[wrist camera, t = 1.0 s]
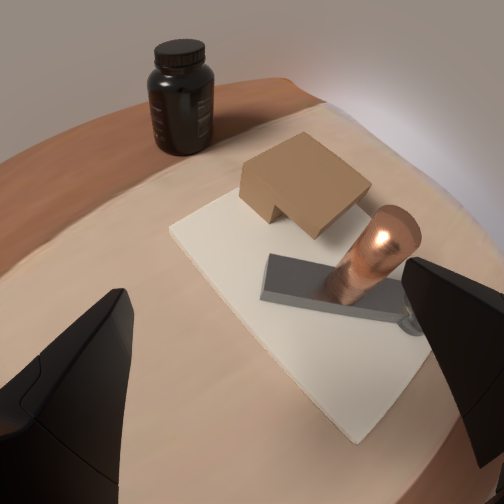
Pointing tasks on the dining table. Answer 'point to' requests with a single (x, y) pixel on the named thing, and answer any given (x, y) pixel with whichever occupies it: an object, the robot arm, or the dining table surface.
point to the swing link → (353, 275)
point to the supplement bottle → (181, 97)
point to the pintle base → (309, 249)
